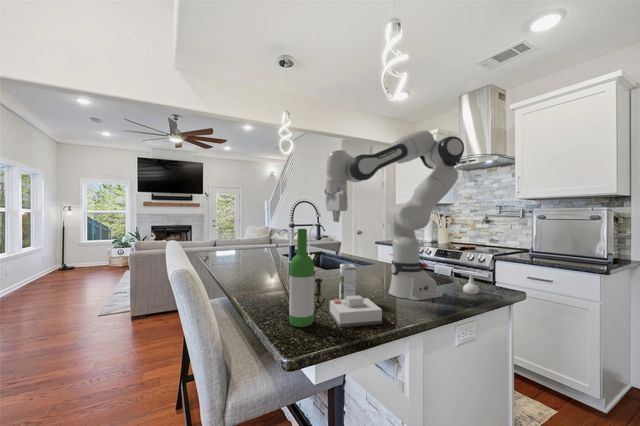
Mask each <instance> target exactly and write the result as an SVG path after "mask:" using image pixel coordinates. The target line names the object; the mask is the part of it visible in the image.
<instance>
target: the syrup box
mask: <svg viewBox="0 0 640 426" xmlns="http://www.w3.org/2000/svg"><path fill="white" fill-rule="evenodd" d="M338 284H339V287H338V290H339V293H338V294H339V295H338V299H339V300H346V296H357V293H356V290H357V287H356V285H357V266H355V265H354V264H352V263H340V264H339V283H338Z"/></svg>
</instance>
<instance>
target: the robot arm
mask: <svg viewBox="0 0 640 426" xmlns="http://www.w3.org/2000/svg"><path fill="white" fill-rule="evenodd" d="M464 151H465V143H464V142H463V140H462V139H461V138H459V137H457V136H446V137H444V138H442V139H441V140H439V141H437V140H436V139H435V138H434V135H433V134H432V133H431V132H430V131H429V130H424V129H423V130H419V131H415V132H411V133H409V134H406V135H404V136H401V137H399V138H398V139H396V140H395V141H393V142H391V144H390V146H389V147H388V148H385V149H383V150H380V151H378V152H375V153H372V154H365V153H364V154H359V155H357V156H355V157H354V156H352V155H350V154H349V153H347V152H346V151H345V150H335V151H334V150H333V151H332V152H330V153H329V154H328V155H327V158H326V169H325V170H326V171H325V172H326V185H325V189H324V195H325V207H326V211H327V212H332V220H333V222H334V223H340V216H341V212H347V211H348V207H349V205H348V182H352V183H360V182H364V181H368V180H370V179H371V178H373V177H374V175H375V174H376V173H377V172H378V171H379V170H381V169H382V168H385V167H387V166H389V165H391V164H393V163H394V164H395V163H397V164H403V163H407V162H411V161H413V160H416V159H418V158H420V160H421V162H422V164H423V165H424V166H425V167H426V168H427V169H430V170H432V171H431V173H430V174H429V175H427V177H426V178H425V179H423V180H422V181H421V183H419V184H418V186H417V187H416V188H415V189H414V190H413V193H412V194H413V195H412V196H411V198H410V199H409V200H408V201H407V202H405V203H400V204H398V203H397V204H395V205H393V206H391V207H390V208H389V209H388V210H387V211H386V221H387V223H388V225H389V230H390V234H391V235H390V236H391V241H392V260H391V279H390V280H391V281H390V284H389V285H390V286H389V289H388V294H389V295H390V296H394V297H396V298H401V299H408V300H412V301H421V300H422V301H423V300H428V299H430V300H431V299H435V298H442V297H444V293H443V292H442V291H440V290H438V286H437V285H438V284H437V281H436V280H435V279H434V278H433V277H431V275H430V274H428V273H427V272H426V271H424V269H427V268H428V263H425V262H423V263H422V262H420V242H419V240H418V238H417V236H416V232H415V231H418V230H421V229H425V227H427V226H428V224H429V222H430V221H431V213H432V211H433V210H434V208H435V207H436V206H437V205H438V203H439V202H440V201H441V200H442V199H443V198H445V196H446V195H447V194H448V193H449V192H450V190H451V189H452V188H453V186H455V184H456V182H457V181H458V179H459V173H458V170H457V168H455V167H456V166H458V165H459V164H460V163H461V159H462V156H463V155H464ZM423 268H424V269H423Z"/></svg>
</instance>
